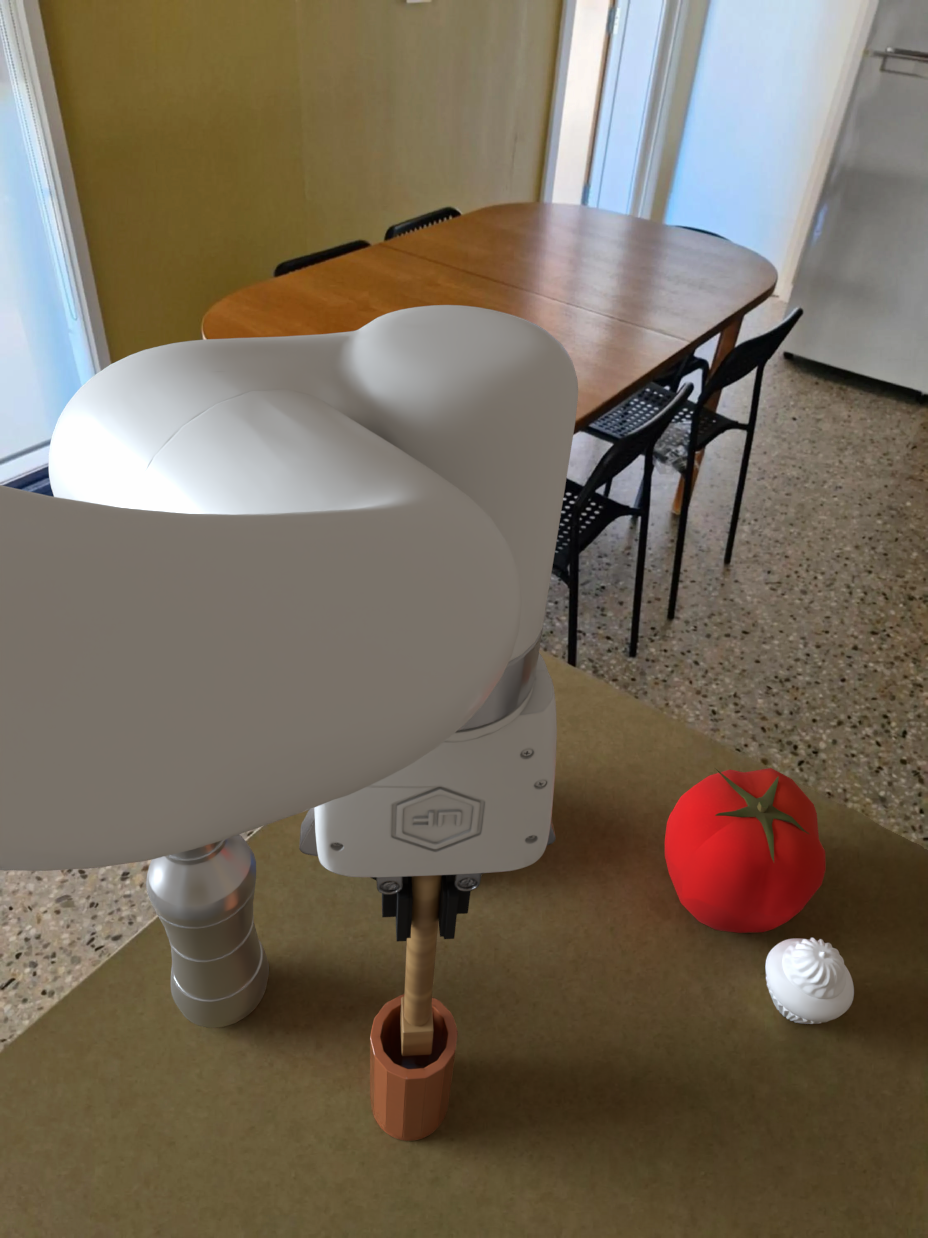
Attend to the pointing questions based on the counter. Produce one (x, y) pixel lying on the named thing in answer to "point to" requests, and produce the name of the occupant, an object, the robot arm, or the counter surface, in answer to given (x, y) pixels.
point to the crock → (410, 1074)
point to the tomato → (744, 850)
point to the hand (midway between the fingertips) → (423, 913)
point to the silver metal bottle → (211, 930)
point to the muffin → (808, 981)
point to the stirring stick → (420, 967)
